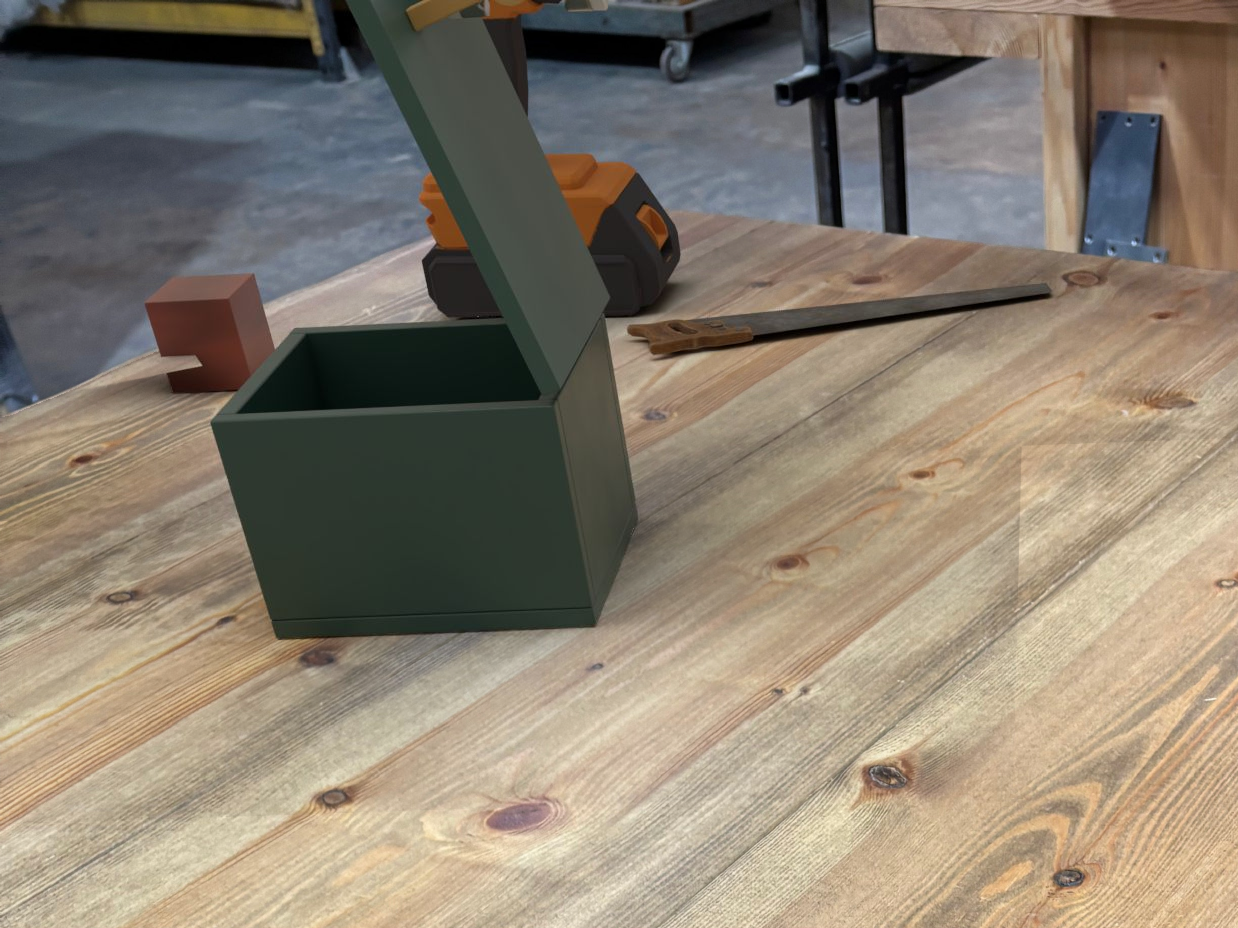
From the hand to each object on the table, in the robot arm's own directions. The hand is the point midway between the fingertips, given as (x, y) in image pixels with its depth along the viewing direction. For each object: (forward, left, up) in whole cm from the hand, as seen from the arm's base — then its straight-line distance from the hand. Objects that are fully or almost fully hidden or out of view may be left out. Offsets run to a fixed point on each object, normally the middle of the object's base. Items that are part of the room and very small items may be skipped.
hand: (522, 4), depth 70 cm
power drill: (+12, +40, -21) cm, 47 cm away
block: (-10, +39, -21) cm, 45 cm away
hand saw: (+22, +27, -21) cm, 41 cm away
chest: (-6, +4, -21) cm, 22 cm away
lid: (-2, +2, -5) cm, 6 cm away
